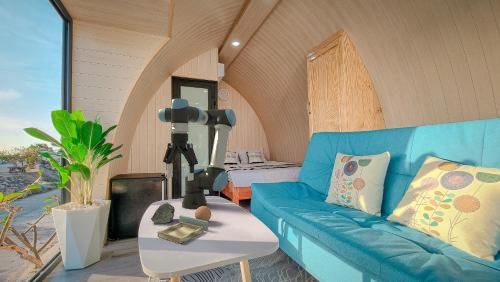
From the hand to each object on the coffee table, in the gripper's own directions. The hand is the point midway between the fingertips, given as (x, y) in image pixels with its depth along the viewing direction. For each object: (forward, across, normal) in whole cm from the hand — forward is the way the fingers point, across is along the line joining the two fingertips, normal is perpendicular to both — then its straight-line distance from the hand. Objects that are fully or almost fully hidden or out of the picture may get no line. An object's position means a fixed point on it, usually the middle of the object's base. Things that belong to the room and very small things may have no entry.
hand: (179, 178), depth 101 cm
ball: (+23, +4, +11) cm, 26 cm away
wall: (+23, +4, +4) cm, 24 cm away
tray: (+23, +6, -4) cm, 24 cm away
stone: (+23, -14, +3) cm, 27 cm away
